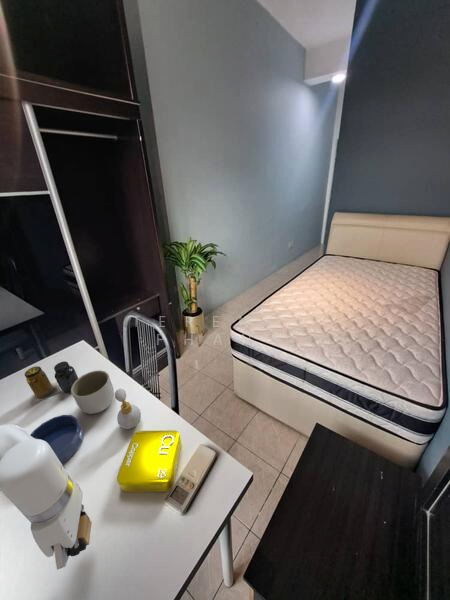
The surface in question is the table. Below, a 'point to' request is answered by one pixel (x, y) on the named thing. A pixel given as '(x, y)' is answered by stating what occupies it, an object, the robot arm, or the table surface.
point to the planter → (93, 392)
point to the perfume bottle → (127, 411)
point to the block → (84, 529)
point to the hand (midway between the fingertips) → (80, 536)
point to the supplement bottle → (65, 376)
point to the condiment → (40, 383)
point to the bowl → (61, 435)
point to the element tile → (150, 462)
